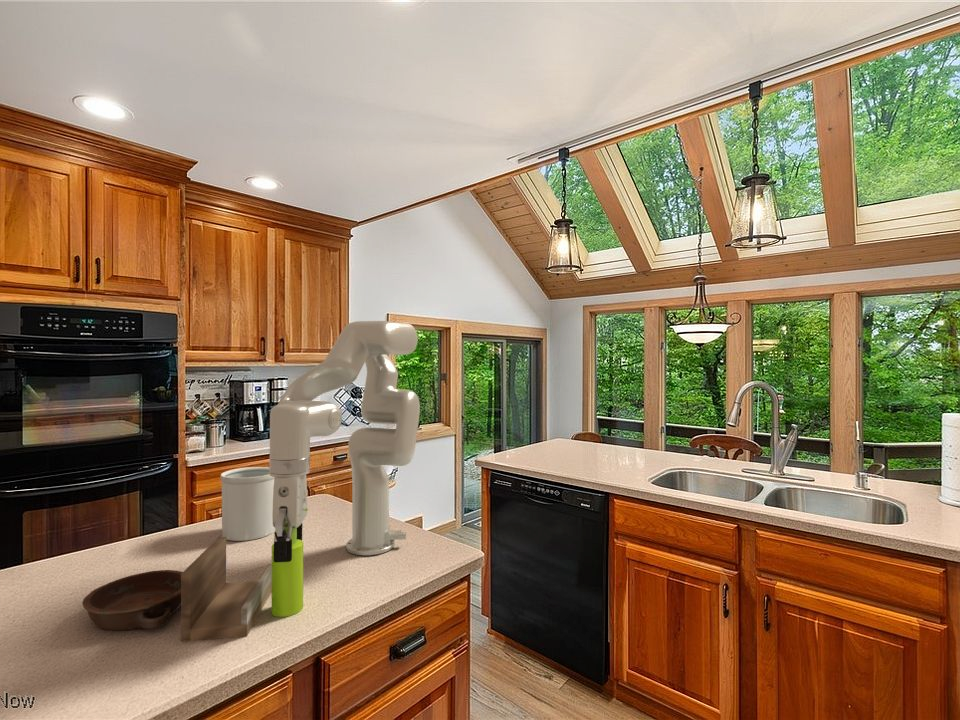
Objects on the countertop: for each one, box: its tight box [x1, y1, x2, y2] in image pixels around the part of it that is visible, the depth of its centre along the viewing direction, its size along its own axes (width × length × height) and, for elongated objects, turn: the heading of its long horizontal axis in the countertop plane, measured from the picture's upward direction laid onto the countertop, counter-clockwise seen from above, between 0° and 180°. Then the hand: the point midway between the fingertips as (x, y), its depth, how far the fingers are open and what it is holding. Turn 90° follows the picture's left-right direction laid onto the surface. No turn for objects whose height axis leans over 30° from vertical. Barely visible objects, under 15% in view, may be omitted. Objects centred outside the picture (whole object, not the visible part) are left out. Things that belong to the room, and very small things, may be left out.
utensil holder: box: [220, 466, 275, 542], centre depth 140 cm, size 15×15×18 cm
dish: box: [81, 569, 184, 631], centre depth 96 cm, size 18×22×5 cm
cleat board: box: [180, 536, 272, 642], centre depth 96 cm, size 11×18×12 cm, turn 9°
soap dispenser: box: [271, 507, 309, 618], centre depth 98 cm, size 6×7×20 cm
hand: (288, 551), depth 97 cm, fingers open, 9 cm apart
